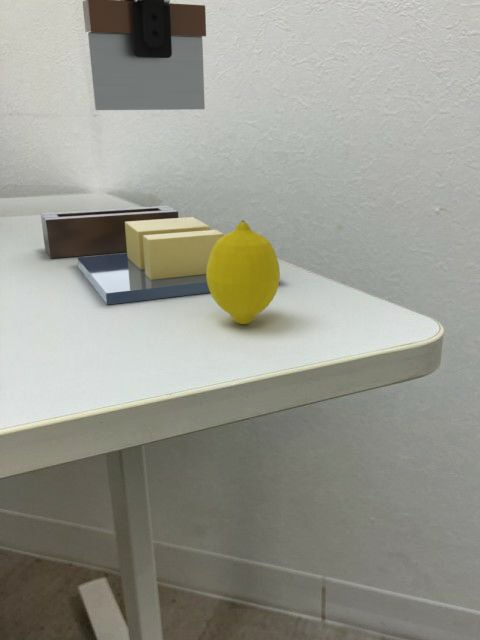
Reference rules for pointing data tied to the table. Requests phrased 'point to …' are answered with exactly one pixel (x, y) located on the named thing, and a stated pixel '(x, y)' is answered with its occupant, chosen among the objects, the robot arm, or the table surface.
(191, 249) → the butter slice
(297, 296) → the table surface
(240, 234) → the fruit
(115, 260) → the butter dish
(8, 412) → the table surface
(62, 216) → the scraper holder
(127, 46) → the scraper
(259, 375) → the table surface
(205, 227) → the butter block
